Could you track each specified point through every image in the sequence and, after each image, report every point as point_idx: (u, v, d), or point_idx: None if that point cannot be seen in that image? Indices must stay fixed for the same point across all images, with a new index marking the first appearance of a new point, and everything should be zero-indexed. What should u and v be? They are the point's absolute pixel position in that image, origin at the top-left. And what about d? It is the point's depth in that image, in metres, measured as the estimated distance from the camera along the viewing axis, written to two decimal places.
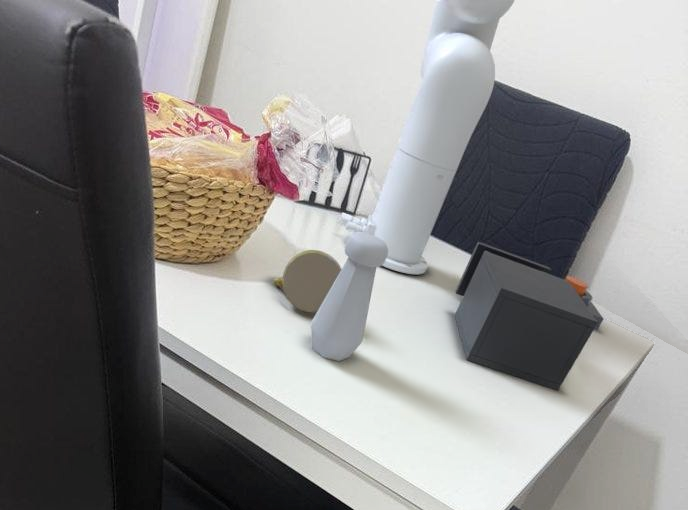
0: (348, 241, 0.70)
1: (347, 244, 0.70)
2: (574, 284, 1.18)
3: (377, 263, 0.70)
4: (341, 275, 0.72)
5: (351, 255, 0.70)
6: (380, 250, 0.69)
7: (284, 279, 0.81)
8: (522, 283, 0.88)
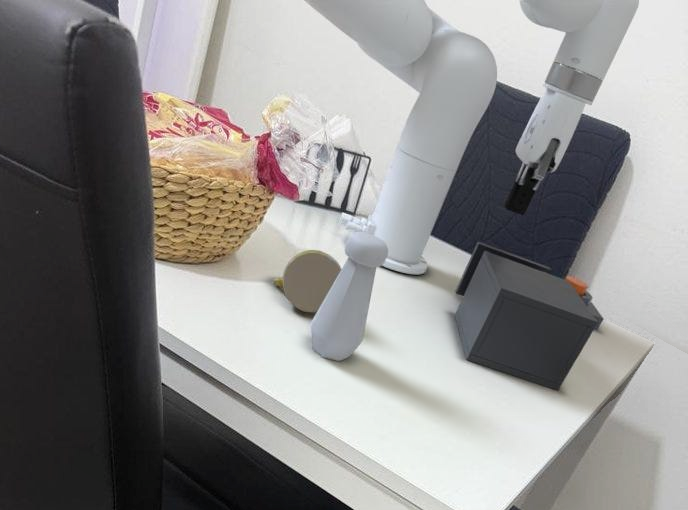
0: (348, 241, 0.70)
1: (347, 244, 0.70)
2: (574, 284, 1.18)
3: (377, 263, 0.70)
4: (341, 275, 0.72)
5: (351, 255, 0.70)
6: (380, 250, 0.69)
7: (284, 279, 0.81)
8: (522, 283, 0.88)
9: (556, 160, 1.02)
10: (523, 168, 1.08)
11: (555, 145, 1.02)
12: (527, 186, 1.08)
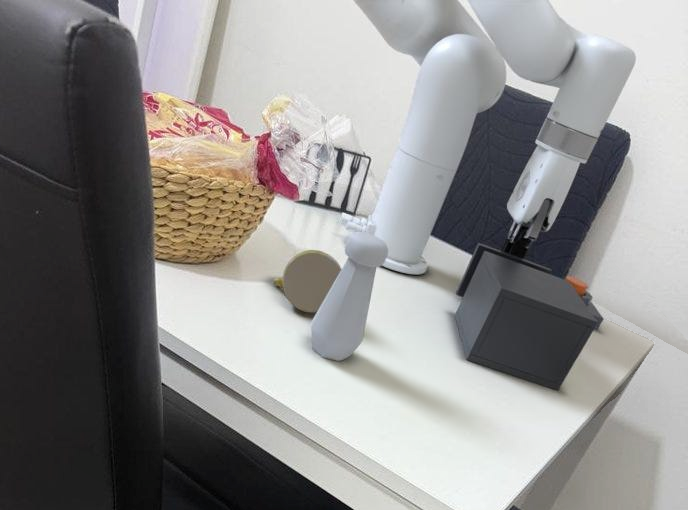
0: (348, 241, 0.70)
1: (347, 244, 0.70)
2: (574, 284, 1.18)
3: (377, 263, 0.70)
4: (341, 275, 0.72)
5: (351, 255, 0.70)
6: (380, 250, 0.69)
7: (284, 279, 0.81)
8: (522, 283, 0.88)
9: (549, 220, 0.98)
10: (515, 225, 1.04)
11: (548, 205, 0.97)
12: (519, 244, 1.03)
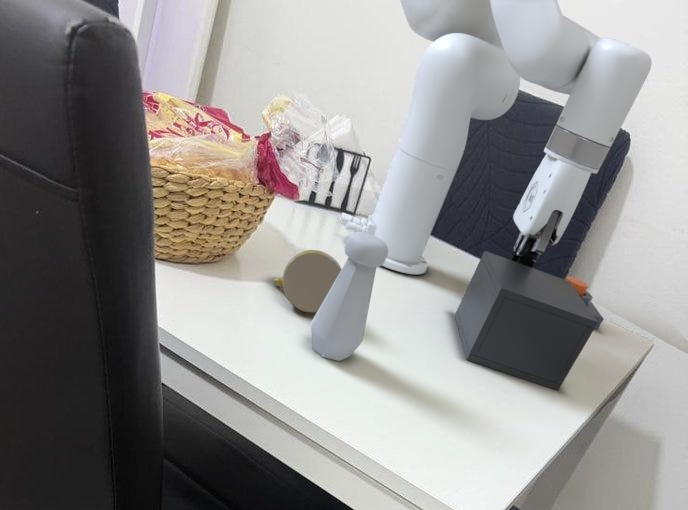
0: (348, 241, 0.70)
1: (347, 244, 0.70)
2: (574, 284, 1.18)
3: (377, 263, 0.70)
4: (341, 275, 0.72)
5: (351, 255, 0.70)
6: (380, 250, 0.69)
7: (284, 279, 0.81)
8: (522, 283, 0.88)
9: (558, 233, 0.93)
10: (521, 237, 0.99)
11: (557, 217, 0.92)
12: (526, 258, 0.98)
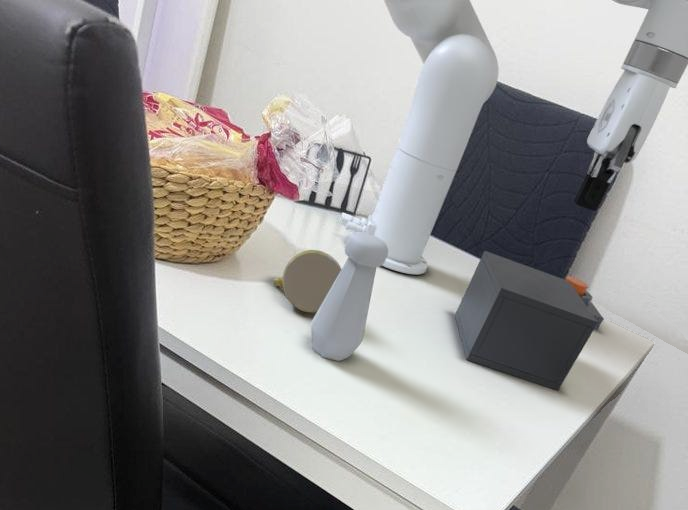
0: (348, 241, 0.70)
1: (347, 244, 0.70)
2: (574, 284, 1.18)
3: (377, 263, 0.70)
4: (341, 275, 0.72)
5: (351, 255, 0.70)
6: (380, 250, 0.69)
7: (284, 279, 0.81)
8: (522, 283, 0.88)
9: (635, 149, 0.93)
10: (596, 159, 0.99)
11: (635, 132, 0.93)
12: (601, 179, 0.98)
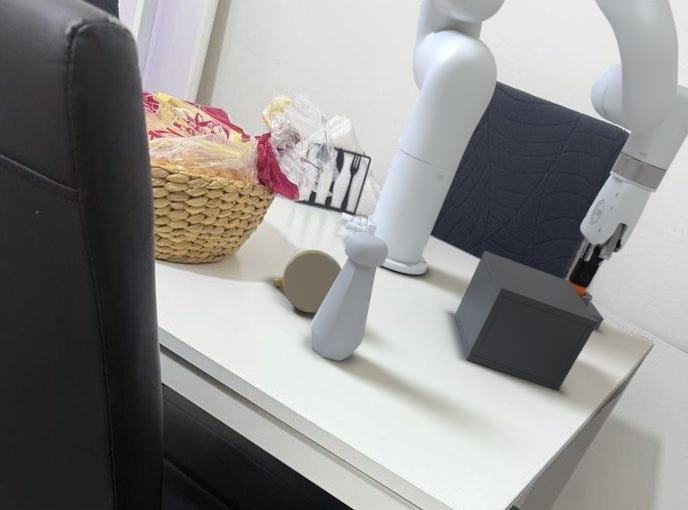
0: (348, 241, 0.70)
1: (347, 244, 0.70)
2: (573, 286, 1.18)
3: (377, 263, 0.70)
4: (341, 275, 0.72)
5: (351, 255, 0.70)
6: (380, 250, 0.69)
7: (284, 279, 0.81)
8: (522, 283, 0.88)
9: (622, 242, 1.10)
10: (588, 245, 1.16)
11: (621, 229, 1.10)
12: (592, 263, 1.16)
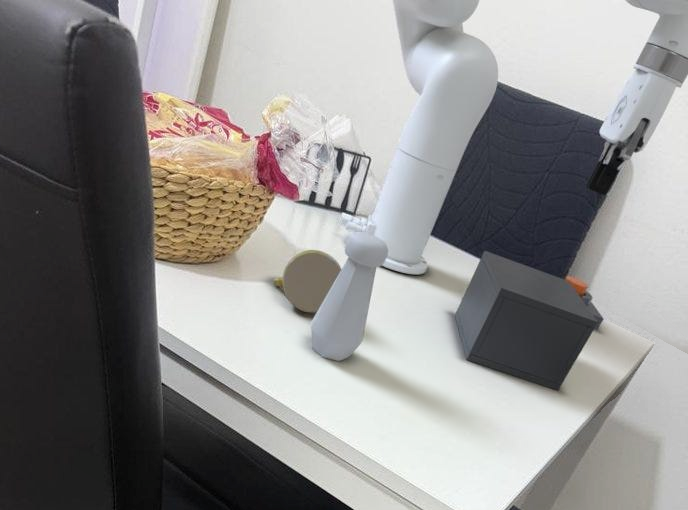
0: (348, 241, 0.70)
1: (347, 244, 0.70)
2: (574, 284, 1.18)
3: (377, 263, 0.70)
4: (341, 275, 0.72)
5: (351, 255, 0.70)
6: (380, 250, 0.69)
7: (284, 279, 0.81)
8: (522, 283, 0.88)
9: (644, 140, 1.05)
10: (607, 148, 1.11)
11: (644, 125, 1.05)
12: (611, 166, 1.10)
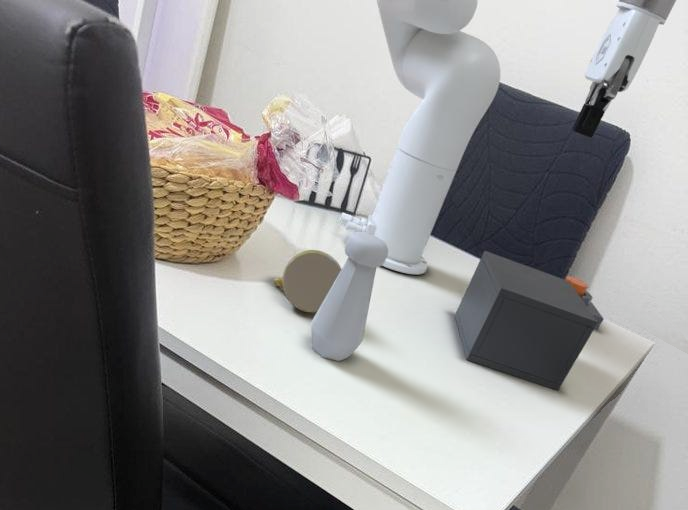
0: (348, 241, 0.70)
1: (347, 244, 0.70)
2: (574, 284, 1.18)
3: (377, 263, 0.70)
4: (341, 275, 0.72)
5: (351, 255, 0.70)
6: (380, 250, 0.69)
7: (284, 279, 0.81)
8: (522, 283, 0.88)
9: (629, 78, 1.06)
10: (593, 90, 1.12)
11: (628, 63, 1.05)
12: (597, 107, 1.11)
